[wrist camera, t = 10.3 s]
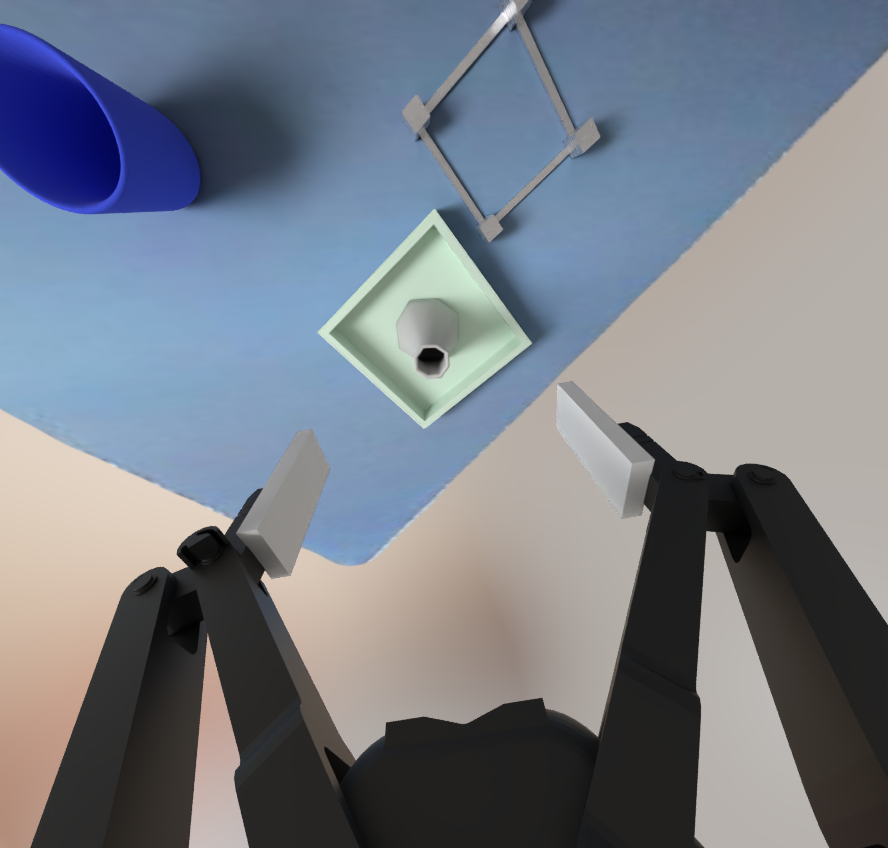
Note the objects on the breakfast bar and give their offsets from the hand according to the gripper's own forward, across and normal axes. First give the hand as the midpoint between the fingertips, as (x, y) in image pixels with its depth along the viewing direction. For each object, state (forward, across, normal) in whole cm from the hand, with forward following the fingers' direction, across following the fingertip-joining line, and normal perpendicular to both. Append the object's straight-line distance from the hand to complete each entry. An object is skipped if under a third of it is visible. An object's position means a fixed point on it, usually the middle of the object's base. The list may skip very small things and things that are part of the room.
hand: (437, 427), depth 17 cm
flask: (+21, 0, 0) cm, 21 cm away
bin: (+22, 0, 0) cm, 22 cm away
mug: (+22, -21, +18) cm, 36 cm away
